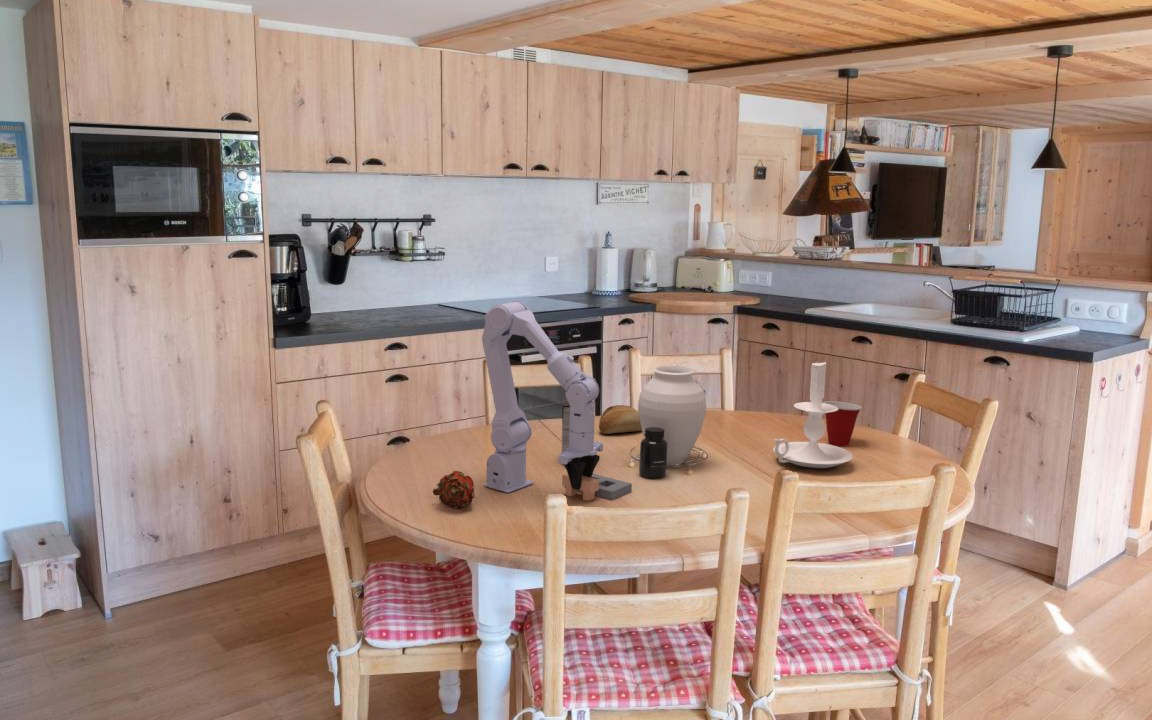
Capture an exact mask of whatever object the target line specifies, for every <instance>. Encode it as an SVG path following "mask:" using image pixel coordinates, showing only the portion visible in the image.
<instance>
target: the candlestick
mask: <svg viewBox="0 0 1152 720" xmlns="http://www.w3.org/2000/svg"><path fill="white" fill-rule="evenodd" d="M815 361H816V362H812V363H811V366H810V384H809V400H810V401H802V402H796V403H795V404H793V406H794V408H795V409H798V410H801V411H802V412H806V413H807V414H808V417H807V419H806V421H805V422H804V424H803V427H802V428H803V429H802V430H803V433H804V435H805V436H806V438H807V439H808V441H788V440H787V439H786V438H780V439H778V438H775V439H773V441H774V442H775V445H774V447H772V448H773V449H772V451H773V452H774V454H776V455H777V457H778V462H780V463H782V464H784V463H785V464H786V463H791V464H793V465H797V466H800V467H804V468H809V469H810V468H813V469H828V468H834V467H838V466H840V465H842V464H844V463H847V462H850V461H851V460H852V459H853V458H854V456H853V454H852V452H850V451H849V450H847V449H845V448H842V447H841V446H834V445H831V444H829V443H822V442H819V441H818V440H820V439H821V438H822V437H823V436H824V434H825V432H826V425H825V422H824V421H823V415H824V414H825V413H828V412H834V411H837V410H838V408H837V407H836V406H833V405H830V404H825V403H823V399H824V398H825V385H826V375H827V373H826V372H827V362H826V361H824V362H818V361H817V360H815ZM825 415H826V414H825Z"/></svg>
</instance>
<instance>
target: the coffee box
mask: <svg viewBox="0 0 1152 720" xmlns="http://www.w3.org/2000/svg"><path fill="white" fill-rule="evenodd" d="M591 402H592V401H591ZM561 408H562V410H561V411H562V413H561V416H562V417H561V454H562V453H563V452H564V451H565V450H567V449H568V448H569V429H570V404H569V402H568V400H567V399H566V401H565V402H564V403H563V405H562V407H561ZM561 465H563V464H561ZM563 466H564V465H563Z"/></svg>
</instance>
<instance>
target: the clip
mask: <svg viewBox="0 0 1152 720" xmlns="http://www.w3.org/2000/svg"><path fill="white" fill-rule="evenodd" d="M561 478H562V479H561V480H562V485H561V486H563V487H565V486H566V487H565V496H568V497H574V496H576V495H578V492H579V491H578V490H576V489H573V488H572V487H571V483H570V479H569V475H568V473H565V474H562V476H561ZM580 490H581V491H583V492H582V500H583V501H586V500H588V501H587V502H590V501H592V500H591V499H593V500H595V499H594V498H595V497H596V496H595V491H598V490H599V480H598V479H594V478H590V477H587V476H583V475H582V482H581V487H580ZM589 500H590V501H589Z"/></svg>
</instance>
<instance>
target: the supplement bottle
mask: <svg viewBox="0 0 1152 720" xmlns="http://www.w3.org/2000/svg"><path fill="white" fill-rule="evenodd" d="M645 437H646V438H643V439H641V441H640V445H639V447H640V448H639V449H640V450H639V465H638V466H639V467H638V473H639V475H640V477H642V478H646V479H652V480H657V479H659V480H660V479H663V478H664V477H666V475H667V465H666V464H667V447H668V444H667V442H666V441H665V440H664V439H663V438H664V429H662V428H657V427H649V428H646V429H645Z"/></svg>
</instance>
